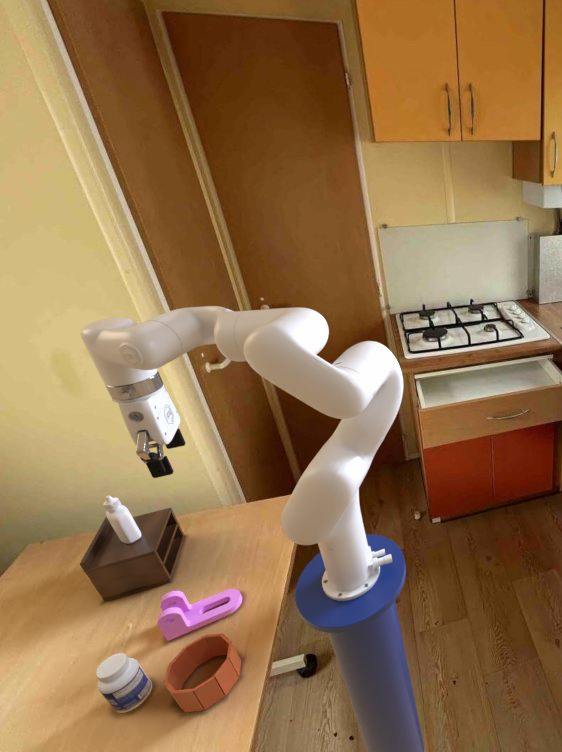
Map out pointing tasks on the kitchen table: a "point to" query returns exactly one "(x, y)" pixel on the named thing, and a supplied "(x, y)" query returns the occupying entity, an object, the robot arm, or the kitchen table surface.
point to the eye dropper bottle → (121, 520)
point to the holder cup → (210, 688)
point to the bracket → (194, 611)
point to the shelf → (134, 555)
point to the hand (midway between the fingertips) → (170, 460)
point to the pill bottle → (123, 682)
